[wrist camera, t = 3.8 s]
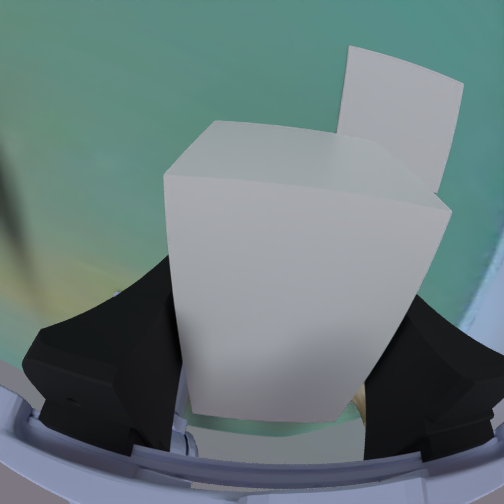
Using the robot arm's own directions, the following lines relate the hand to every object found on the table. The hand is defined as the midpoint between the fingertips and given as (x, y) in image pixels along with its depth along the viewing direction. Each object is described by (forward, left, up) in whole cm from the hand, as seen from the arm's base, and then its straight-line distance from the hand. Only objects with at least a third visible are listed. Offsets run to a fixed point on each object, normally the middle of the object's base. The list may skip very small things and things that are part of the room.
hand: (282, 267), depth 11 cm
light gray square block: (+5, -7, -9) cm, 12 cm away
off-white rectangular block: (0, 0, -2) cm, 2 cm away
